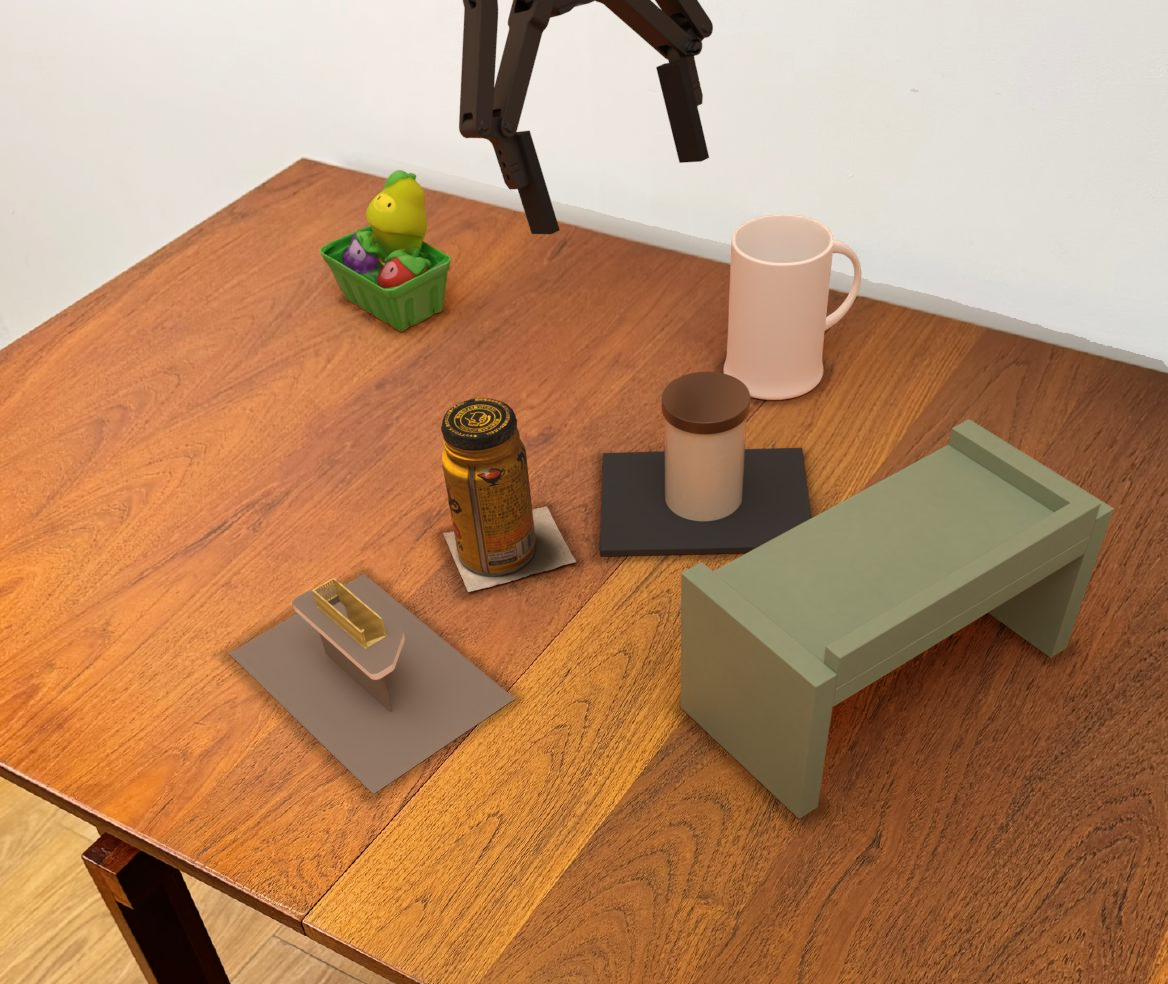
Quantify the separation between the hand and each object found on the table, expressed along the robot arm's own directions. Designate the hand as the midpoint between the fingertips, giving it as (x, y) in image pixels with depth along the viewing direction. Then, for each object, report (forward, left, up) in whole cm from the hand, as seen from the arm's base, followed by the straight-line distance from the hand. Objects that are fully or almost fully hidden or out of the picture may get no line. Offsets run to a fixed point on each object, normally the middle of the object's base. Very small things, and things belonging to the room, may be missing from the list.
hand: (621, 196), depth 90 cm
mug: (-14, -7, -19) cm, 25 cm away
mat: (-6, +11, -19) cm, 23 cm away
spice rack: (-17, +30, -19) cm, 39 cm away
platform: (+18, +29, -19) cm, 39 cm away
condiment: (+9, +16, -19) cm, 27 cm away
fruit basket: (+22, -20, -19) cm, 36 cm away
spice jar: (-6, +11, -19) cm, 22 cm away
